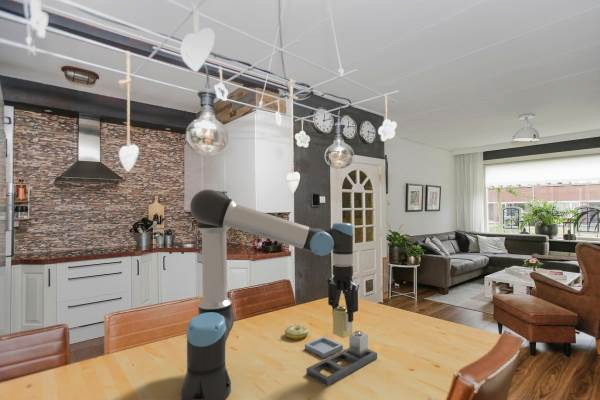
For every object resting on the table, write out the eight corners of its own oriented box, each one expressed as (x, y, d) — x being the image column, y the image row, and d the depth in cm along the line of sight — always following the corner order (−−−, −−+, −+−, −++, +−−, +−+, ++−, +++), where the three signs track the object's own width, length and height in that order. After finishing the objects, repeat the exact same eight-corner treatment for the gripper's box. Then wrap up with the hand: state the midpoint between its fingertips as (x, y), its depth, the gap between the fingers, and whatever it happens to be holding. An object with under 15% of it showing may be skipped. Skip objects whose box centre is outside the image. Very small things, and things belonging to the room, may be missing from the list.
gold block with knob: (343, 338, 111) (343, 310, 111) (332, 333, 114) (333, 307, 114) (352, 334, 114) (352, 307, 114) (341, 330, 118) (341, 304, 118)
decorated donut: (312, 334, 143) (312, 326, 143) (301, 343, 133) (301, 334, 134) (293, 329, 148) (293, 321, 148) (280, 338, 139) (280, 329, 139)
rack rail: (327, 386, 101) (327, 380, 101) (306, 374, 108) (306, 368, 108) (377, 358, 119) (377, 352, 119) (356, 349, 127) (356, 344, 127)
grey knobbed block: (360, 362, 116) (359, 336, 116) (349, 357, 120) (349, 332, 120) (367, 358, 120) (367, 332, 120) (357, 353, 123) (357, 328, 124)
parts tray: (324, 358, 119) (324, 353, 119) (304, 348, 127) (304, 344, 127) (342, 349, 126) (342, 344, 127) (323, 341, 135) (323, 336, 135)
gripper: (368, 267, 110) (368, 332, 110) (331, 260, 124) (331, 318, 123) (355, 269, 105) (355, 338, 105) (318, 262, 119) (318, 323, 118)
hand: (342, 327), depth 114 cm, fingers closed on gold block with knob, 5 cm apart
